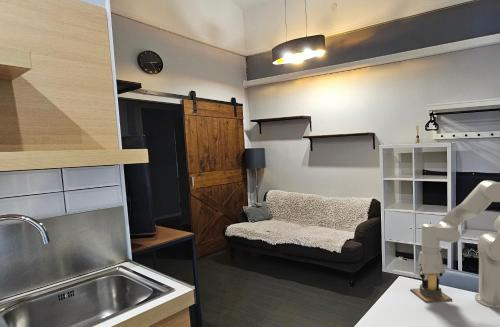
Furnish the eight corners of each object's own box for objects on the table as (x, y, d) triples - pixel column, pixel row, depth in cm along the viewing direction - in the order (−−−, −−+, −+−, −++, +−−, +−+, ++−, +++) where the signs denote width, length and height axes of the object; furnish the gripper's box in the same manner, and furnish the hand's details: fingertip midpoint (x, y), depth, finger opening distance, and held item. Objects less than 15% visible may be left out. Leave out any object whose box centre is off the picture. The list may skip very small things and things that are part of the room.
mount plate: (434, 288, 157) (434, 281, 157) (452, 300, 145) (452, 292, 145) (410, 290, 156) (410, 283, 156) (425, 302, 144) (425, 294, 144)
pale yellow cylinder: (431, 290, 153) (431, 270, 152) (438, 295, 148) (438, 274, 147) (422, 291, 153) (422, 271, 152) (428, 295, 148) (428, 275, 147)
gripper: (441, 246, 153) (441, 282, 154) (409, 248, 152) (409, 284, 153) (452, 251, 146) (452, 289, 147) (418, 253, 145) (418, 291, 146)
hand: (430, 286), depth 150 cm, fingers closed on pale yellow cylinder, 4 cm apart
